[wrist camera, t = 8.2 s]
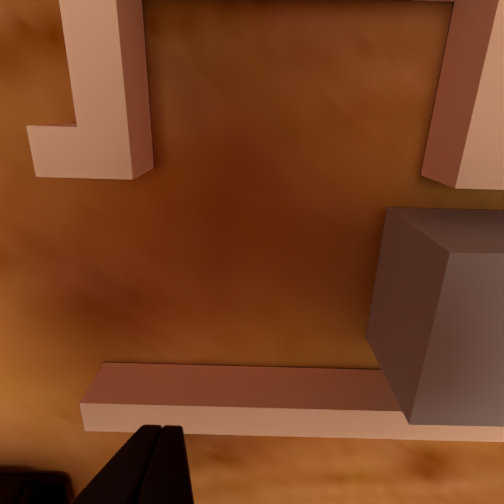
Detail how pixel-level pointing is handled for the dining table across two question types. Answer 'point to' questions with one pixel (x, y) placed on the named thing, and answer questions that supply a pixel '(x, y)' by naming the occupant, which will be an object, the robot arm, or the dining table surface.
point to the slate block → (441, 314)
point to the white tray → (141, 161)
